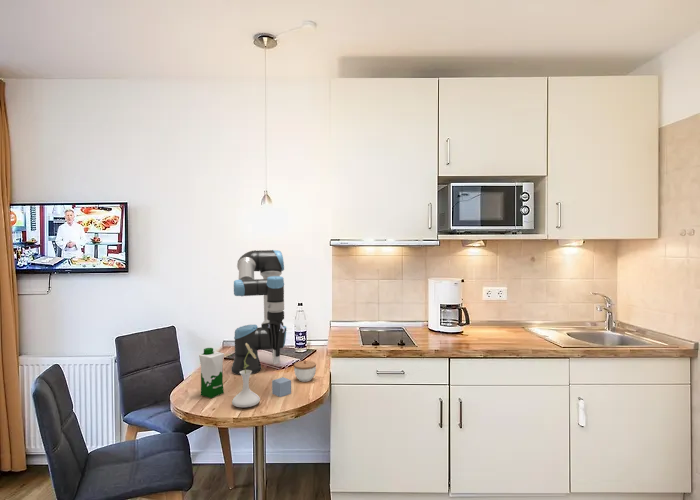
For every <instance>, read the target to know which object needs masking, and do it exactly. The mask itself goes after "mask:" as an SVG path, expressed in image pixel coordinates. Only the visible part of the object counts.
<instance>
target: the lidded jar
mask: <svg viewBox="0 0 700 500" xmlns="http://www.w3.org/2000/svg"><path fill="white" fill-rule="evenodd" d="M293 368H294V369H293V371H294V375H295V378H297V380H298V381H299V382H303V383H306V382H311V381H312V379H313V378H314V377H315V375H316V372H317V363H316V362H315V361H312V360H302V361H301V360H300V361H297V362H294V363H293Z"/></svg>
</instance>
